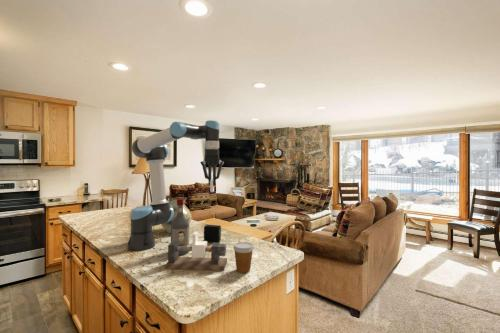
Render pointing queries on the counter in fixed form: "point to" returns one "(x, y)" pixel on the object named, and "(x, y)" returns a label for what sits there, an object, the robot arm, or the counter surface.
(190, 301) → the counter surface
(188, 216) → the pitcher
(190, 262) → the rail stand
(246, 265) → the disposable coffee cup
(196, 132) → the robot arm
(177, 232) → the liquor
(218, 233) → the electronic device
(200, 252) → the white l-shaped block
